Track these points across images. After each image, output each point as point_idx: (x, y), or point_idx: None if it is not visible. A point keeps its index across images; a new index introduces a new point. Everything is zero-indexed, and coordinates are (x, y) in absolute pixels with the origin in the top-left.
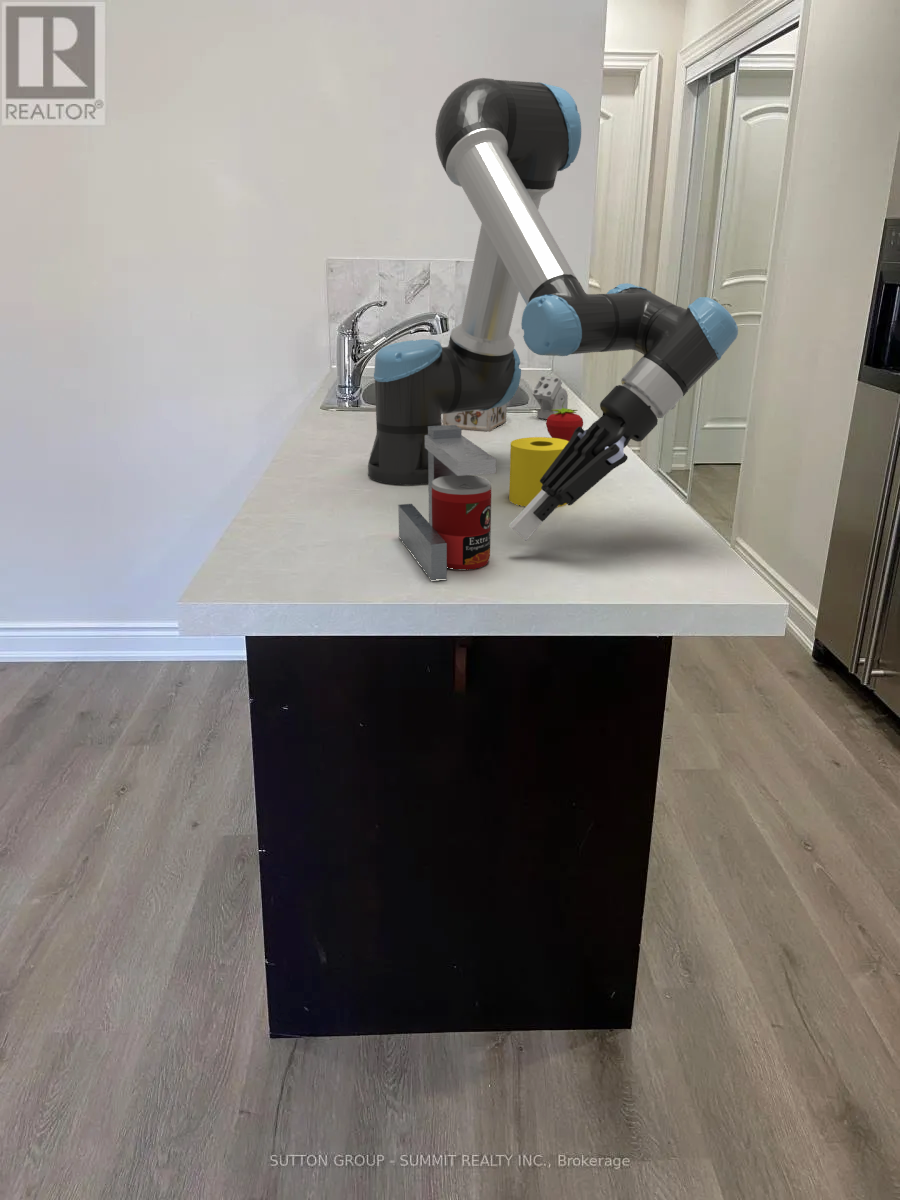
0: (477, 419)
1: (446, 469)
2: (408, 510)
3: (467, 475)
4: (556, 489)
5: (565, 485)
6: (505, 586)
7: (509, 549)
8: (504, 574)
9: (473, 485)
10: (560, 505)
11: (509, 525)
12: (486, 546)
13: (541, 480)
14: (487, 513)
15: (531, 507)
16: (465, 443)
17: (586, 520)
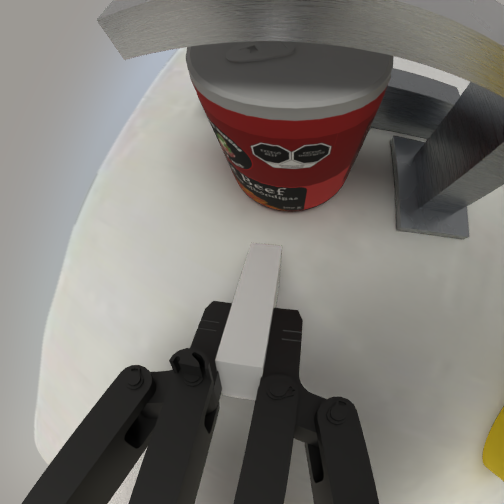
0: None
1: (490, 100)
2: (422, 82)
3: (381, 75)
4: (172, 388)
5: (119, 402)
6: (145, 192)
7: (327, 282)
8: (192, 211)
9: (265, 62)
10: (483, 454)
11: (278, 246)
12: (236, 176)
13: (336, 403)
14: (220, 137)
15: (235, 299)
16: (477, 17)
17: (409, 481)
